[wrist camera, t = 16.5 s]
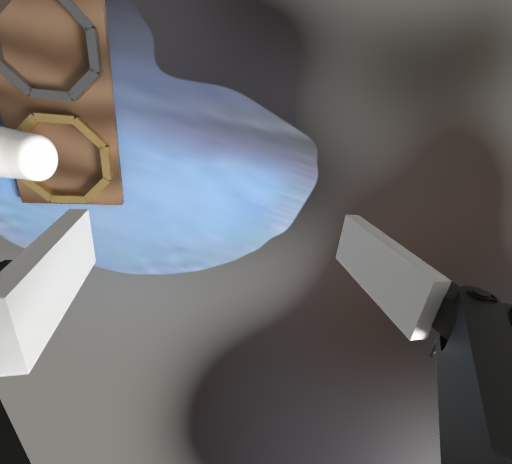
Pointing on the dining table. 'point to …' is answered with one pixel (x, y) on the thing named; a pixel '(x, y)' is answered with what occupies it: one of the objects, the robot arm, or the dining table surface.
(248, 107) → the dining table surface
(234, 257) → the dining table surface
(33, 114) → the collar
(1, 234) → the dining table surface
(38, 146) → the drinking glass
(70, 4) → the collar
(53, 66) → the walnut board
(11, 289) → the robot arm
